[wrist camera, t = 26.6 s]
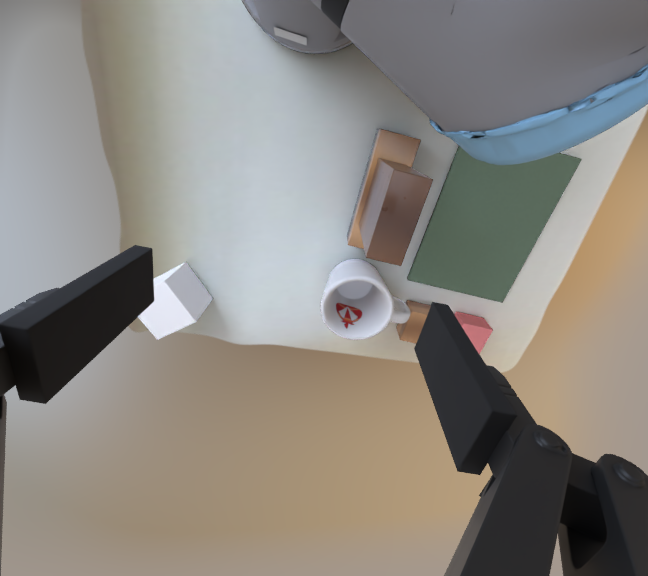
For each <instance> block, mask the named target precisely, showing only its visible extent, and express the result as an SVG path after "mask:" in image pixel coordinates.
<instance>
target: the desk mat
mask: <svg viewBox="0 0 648 576" xmlns="http://www.w3.org/2000/svg"><path fill="white" fill-rule="evenodd" d="M581 160H582V159H579V158H576V157H572V156H568V155H565V154H561V153H556V154H553V155H551V156H548V157H545V158H541V159H538V160H534V161H530V162H526V163H521V164H513V165H495V164H489V163H486V162H484V161H480V160H477V159H475V158H473V157H472V156H470V155H469V154H468V153H467V152H466V151H465V150H463V149H462V148H461V147H460V146H459V147H458V150H457V152H456V155H455V157H454V160H453V163H452V165H451V168H450V170H449V173H448V175H447V178H446V181H445V183H444V186H443V188H442V191H441V193H440V196H439V198H438V201H437V204H436V206H435V209H434V211H433V214H432V216H431V219H430V222H429V224H428V227H427V229H426V232H425V234H424V237H423V239H422V242H421V245H420V247H419V250H418V252H417V255H416V257H415V260H414V263H413V265H412V268H411V270H410V273H409V275H408V278H407V279H408V280H410V281H414V282H419V283H423V284H427V285H431V286H435V287H440V288H444V289H448V290H452V291H456V292H460V293H465V294H469V295H473V296H477V297H481V298H486V299H490V300H494V301H498V302H503V301H504V299H505V297H506V295H507V293H508V292H509V290H510V288H511V286H512V284H513V283H514V281H515V279H516V277H517V275H518V274H519V272H520V270H521V268H522V266H523V265H524V263H525V261H526V259H527V257H528V256H529V254H530V252H531V250H532V248H533V246H534V245H535V243H536V241H537V239H538V237H539V236H540V234H541V232H542V230H543V228H544V227H545V225H546V223H547V221H548V219H549V218H550V216H551V214H552V212H553V210H554V209H555V207H556V205H557V203H558V201H559V200H560V198H561V196H562V194H563V192H564V190H565V189H566V187H567V185H568V183H569V181H570V180H571V178H572V176H573V174H574V172H575V171H576V169H577V167H578V165H579V163H580V162H581Z"/></svg>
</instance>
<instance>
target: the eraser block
mask: <svg viewBox="0 0 648 576" xmlns="http://www.w3.org/2000/svg"><path fill="white" fill-rule="evenodd" d="M455 317H456V318H457V320H458V322H459V323H460V325H461V326H462V328H463V329H464V331H465V333H466V334H467V336H468V337H469V339H470V341H471V342H472V344H473V345H474V347H475V348H476V350H477V352H478V353H479V354H480V352H481V350H482V349H483V347H484V345H485V343H486V341H487V340H488V338H489V336H490V334H491V333H492V331H493V330H492V328H491V327H490V326H489V324H488V323H487V322H486V320H485V319H484V318H482V317H477V316H473V315H469V314H465V313H460V312H456V313H455Z"/></svg>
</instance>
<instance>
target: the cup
mask: <svg viewBox="0 0 648 576" xmlns="http://www.w3.org/2000/svg"><path fill="white" fill-rule="evenodd" d="M396 309H397V310H396ZM320 310H321V316H322V319H323V321H324V323H325V324H326V326H327V327H328V328H329V329H330V330H331V331H332V332H333V333H335V334H336V335H338V336H340V337H343V338H346V339H351V340H362V339H367V338H370V337H373V336H375V335H377V334H378V333H380V332H381V331H382V330H383V329H385V327H386V326H387V325H388V324H389V322H394V323H400V324H402V323H405V322H407V321H408V319H409V317H410V309H409V307H408V306H407V305H406V303H405V302H403V301H402V300H401V299H399V298H397V297H394V296H392V295H391V293H390V291H389V290H388V288H387V286H386V284H385V283H384V281H383V279H382V277H381V276H380V274H379V272H378V271H377V269H376V268H375V267H374V266H373V265H371V264H370V263H368V262H367V261H364V260H361V259H348V260H345V261H343V262H341V263H339V264H338V265H337V266H336V267H335V268H334V269H333V270H332V271H331V273H330V275H329V277H328V280H327V284H326V287H325V290H324V293H323V296H322V300H321V305H320Z"/></svg>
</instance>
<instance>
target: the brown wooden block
mask: <svg viewBox="0 0 648 576" xmlns="http://www.w3.org/2000/svg"><path fill="white" fill-rule="evenodd" d="M420 141H421V140H420V139H416V138H412V137H409V136H405V135H401V134H398V133H394V132H390V131H387V130H383V129H377V131H376V134H375V138H374V142H373V145H372V149H371V152H370V156H369V159H368V163H367V166H366V170H365V174H364V177H363V181H362V184H361V188H360V191H359V195H358V198H357V202H356V205H355V209H354V213H353V216H352V220H351V223H350V227H349V230H348V234H347V238H348V245H350V246H354V247H358V248H362V249H364V251H365V255H366V258H370V259H374V260H378V261H382V262H386V263H391V264H395V265H399V266H401V264H402V262H403V259H404V256H405V254H406V251H407V248H408V246H409V243H410V240H411V238H412V235H413V232H414V230H415V227H416V224H417V222H418V219H419V216H420V214H421V211H422V208H423V206H424V203H425V200H426V198H427V195H428V192H429V189H430V187H431V184H432V181H433V179H431V178H429V177H428V176H426V175H424V174H422V173H420V172H418V171H416V170H415V169H413V168H411V167H412V165H413V162H414V159H415V156H416V153H417V150H418V147H419V144H420Z"/></svg>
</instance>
